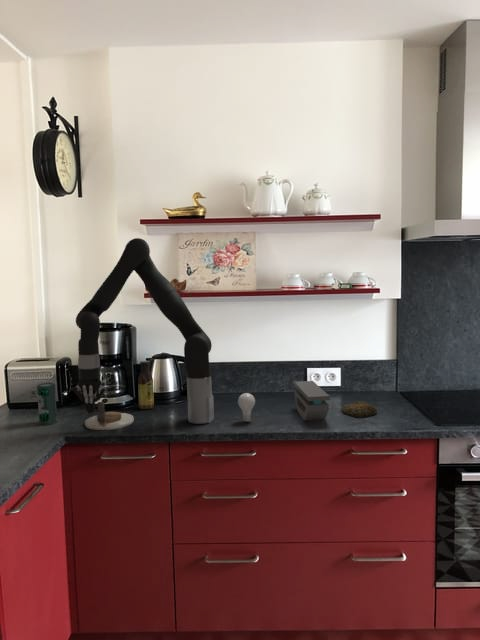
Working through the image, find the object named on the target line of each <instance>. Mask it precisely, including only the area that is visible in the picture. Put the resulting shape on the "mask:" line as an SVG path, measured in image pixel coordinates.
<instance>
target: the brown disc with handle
mask: <svg viewBox="0 0 480 640" xmlns="http://www.w3.org/2000/svg"><path fill="white" fill-rule="evenodd" d="M96 403H97V406H96V407H97V421H98V422H99V425H105V424H106V423H107V422H114V421H118V420H120V419H121V418H122V417H121V413H122V412H119V411H105V402H104V401H97V402H96Z"/></svg>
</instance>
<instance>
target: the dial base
mask: <svg viewBox="0 0 480 640" xmlns="http://www.w3.org/2000/svg"><path fill="white" fill-rule="evenodd" d="M120 413H121V417H122V418H121V419H120V420H118V421H114V422H107V423H106V424H105V425H99V422H98V421H97V415H98V414H97V415H93V416H90V417H88V418H86V419H85V421H84V426H85V428H87V429H89V430H93V431H110V430H111V431H112V430H117V429H121V428H126V427H128V426H130V425H132V424H133V423H134V420H135V419H134V416H133V415H132V414H130V413H124V412H120Z"/></svg>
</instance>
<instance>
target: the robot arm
mask: <svg viewBox="0 0 480 640" xmlns="http://www.w3.org/2000/svg"><path fill="white" fill-rule="evenodd" d="M150 254H151V249H150V245H149V244H148V242H147V240H145V239H143V238H139V237H138V238H137V237H136V238H132V239H130V240H129V241H128V242H127V243H126V245H125V247H124V250H123V251H122V254H121V256H120V257H119V259H118V261H117V263H116V265H114V268H113V269H112V271H111V272H110V274H108V275H107V278H105V280H104V281H103V282H102V284H101V285H100V287H98V289H97V290H96V292H95V293H94V294H93V296H92V298H91V299H90V300H89V301H88V302H87V303H86V304H85V305H84V306H83V307H82V308H81V309H80V310H79V312H78V313H77V315H76V317H75V323H76V324H75V325H76V326H77V328H79V329H80V339H79V340H78V343H77V344H78V349H77V350H78V359H77V367H78V382H77V385H76V386H74V387H72V391H73V393H74V394H75V395H76V396H77V398H78V399H79V400H80V401H81V402H84V403H85V410H86V412H87V413H88V414H93V413H95V411H96V403H98V402H100V400H101V399H102V397H103V396H104V394H106V392H107V391H108V387H106V386H104V385H102V381H101V362H100V361H101V359H100V354H99V353H100V348H99V339H100V338H99V337H100V332H101V331H100V330H101V320H100V316H101V315H102V314H103V313H104V312H107V311H108V310H109V309H110V307H111V306H112V304H113V303H114V302H115V300H116V299H117V297H118V296H119V294H120V293H121V291H122V290H123V288H124V286H125V285H126V283H127V281H128V280H129V277H130V276H131V275H132V273H133V272H135V273H136V274H137V275H138V277H139V278H140V280H141V281H142V282H143V284H144V286H145V287H146V290H147V291H148V293H149V296H150V297H151V299H152V301H153V302H154V304H155V305H156V306H157V308H158V309H159V311H160V312H161V313H162V315H164V317H166V319H167V320H168V321H169V322H170V323H172V325H174V326H175V327H176V328H177V329H178V331H179V332H180V333H181V335H182V337H183V338H184V341H185V342H184V345H183V347H184V348H183V355H184V368H185V372H186V390H187V392H186V393H187V418H188V423H191V424H196V425H198V424H199V425H200V424H201V425H203V424H210V423H212V421H213V420H214V419H215V411H214V410H215V409H214V408H215V405H214V394H213V393H212V369H211V367H210V358H209V356H210V355H209V354H210V352H211V350H212V347H213V346H212V341H211V338H210V336H209V335H207V333H206V332H205V331H204V329H203V328H201V326H200V325H199V324H198V322H197V321H196V320H195V318H194V317H193V315H192V313H191V311H190V310H189V309H188V307H187V305H186V303H185V302H184V300H183V298H182V297H181V295H180V294H179V292H178V291H177V289H176V288H175V286H174V285H173V284H172V283H171V282H170V281H169V280H168V278H166V277H165V276H164V275H163V274H162V273H161V272H160V271H159V269H158V268H157V267H156V265H155V264H154V263H155V262H153V259H152V257H151V255H150ZM98 391H99V392H98ZM97 393H98V394H97Z"/></svg>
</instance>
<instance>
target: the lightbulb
mask: <svg viewBox="0 0 480 640" xmlns="http://www.w3.org/2000/svg"><path fill="white" fill-rule="evenodd" d="M237 404H238V406H239V408H240V409H241V410H242V411H241V412H242V415H243V421H244V422H245V423H249V422H250V421H251V419H252V418H251V414H252V410H253V408H254V407H255V404H256V398H255V397H254V395H253V394H251V393H249V392H244V393H241V395H239V397H238V400H237Z"/></svg>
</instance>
